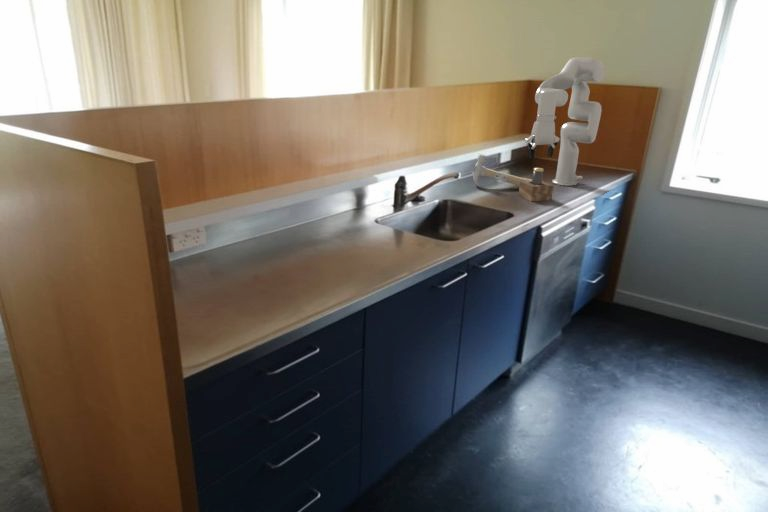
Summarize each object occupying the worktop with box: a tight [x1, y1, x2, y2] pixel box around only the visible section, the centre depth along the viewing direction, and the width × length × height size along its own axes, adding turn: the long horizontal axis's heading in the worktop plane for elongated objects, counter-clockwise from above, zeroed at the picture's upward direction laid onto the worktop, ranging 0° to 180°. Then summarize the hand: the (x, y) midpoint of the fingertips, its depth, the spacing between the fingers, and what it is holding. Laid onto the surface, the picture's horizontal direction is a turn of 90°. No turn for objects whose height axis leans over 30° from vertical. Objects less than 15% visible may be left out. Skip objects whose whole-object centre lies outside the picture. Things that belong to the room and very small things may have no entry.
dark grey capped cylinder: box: [532, 167, 544, 185], centre depth 249 cm, size 4×4×14 cm
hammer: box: [472, 153, 532, 188], centre depth 268 cm, size 16×5×30 cm
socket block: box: [518, 180, 554, 202], centre depth 251 cm, size 11×11×7 cm
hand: (540, 156), depth 245 cm, fingers open, 9 cm apart
